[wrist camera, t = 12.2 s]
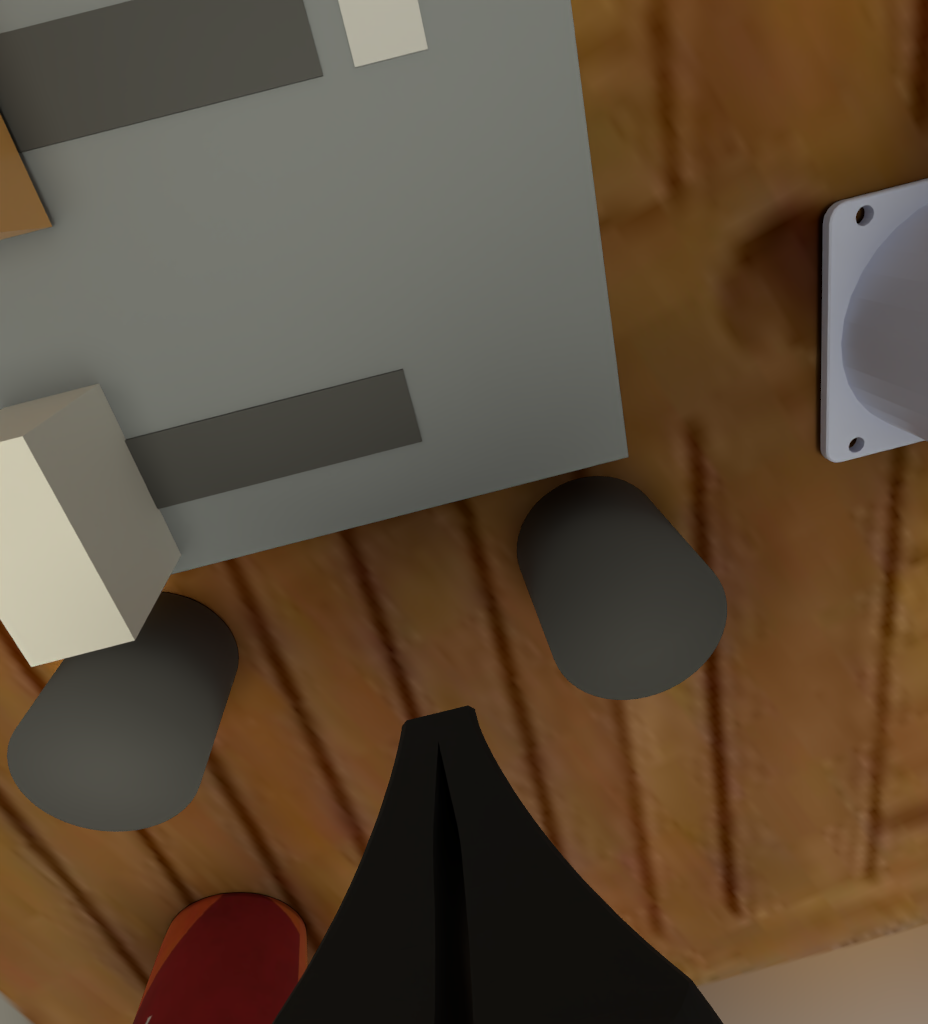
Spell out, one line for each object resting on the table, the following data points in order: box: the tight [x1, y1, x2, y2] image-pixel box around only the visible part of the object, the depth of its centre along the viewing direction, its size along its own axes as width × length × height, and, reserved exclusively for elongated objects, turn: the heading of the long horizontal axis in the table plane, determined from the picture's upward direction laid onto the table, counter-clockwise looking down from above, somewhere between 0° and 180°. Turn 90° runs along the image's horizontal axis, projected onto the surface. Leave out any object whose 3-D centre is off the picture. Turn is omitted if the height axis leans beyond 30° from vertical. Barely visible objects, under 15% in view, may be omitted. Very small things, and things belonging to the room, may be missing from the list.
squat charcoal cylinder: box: [7, 592, 239, 831], centre depth 21 cm, size 5×5×5 cm
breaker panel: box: [0, 0, 628, 667], centre depth 15 cm, size 18×16×6 cm
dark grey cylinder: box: [517, 476, 727, 700], centre depth 21 cm, size 5×5×5 cm
